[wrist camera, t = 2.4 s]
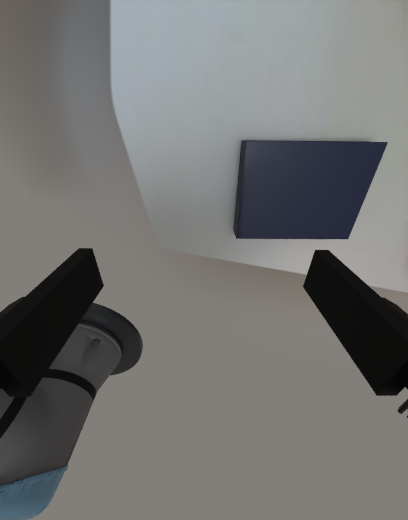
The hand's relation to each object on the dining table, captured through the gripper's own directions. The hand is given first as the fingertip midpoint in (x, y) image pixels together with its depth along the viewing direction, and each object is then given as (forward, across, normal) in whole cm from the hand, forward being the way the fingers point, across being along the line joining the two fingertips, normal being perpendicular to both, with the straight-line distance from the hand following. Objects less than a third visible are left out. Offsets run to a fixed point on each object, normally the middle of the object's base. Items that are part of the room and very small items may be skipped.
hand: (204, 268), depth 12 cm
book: (+19, +13, +1) cm, 23 cm away
